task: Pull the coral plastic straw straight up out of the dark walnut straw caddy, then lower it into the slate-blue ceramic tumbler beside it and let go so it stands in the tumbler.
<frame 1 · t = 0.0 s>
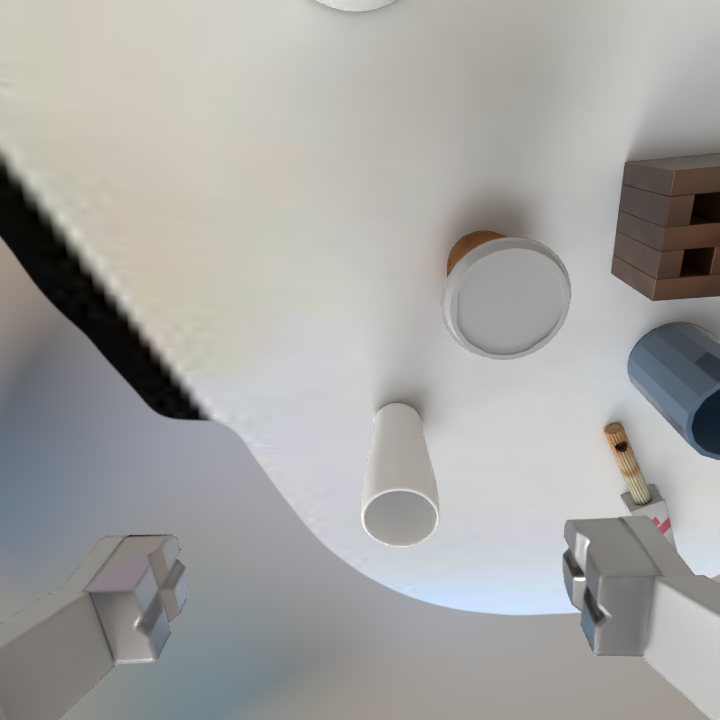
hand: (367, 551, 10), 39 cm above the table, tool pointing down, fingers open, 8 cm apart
grey and wooden tool: (635, 487, 57), on the table
drinking glass: (397, 420, 55), on the table
tumbler: (669, 360, 50), on the table
caddy: (698, 213, 44), on the table
disposable coffee cup: (480, 263, 47), on the table
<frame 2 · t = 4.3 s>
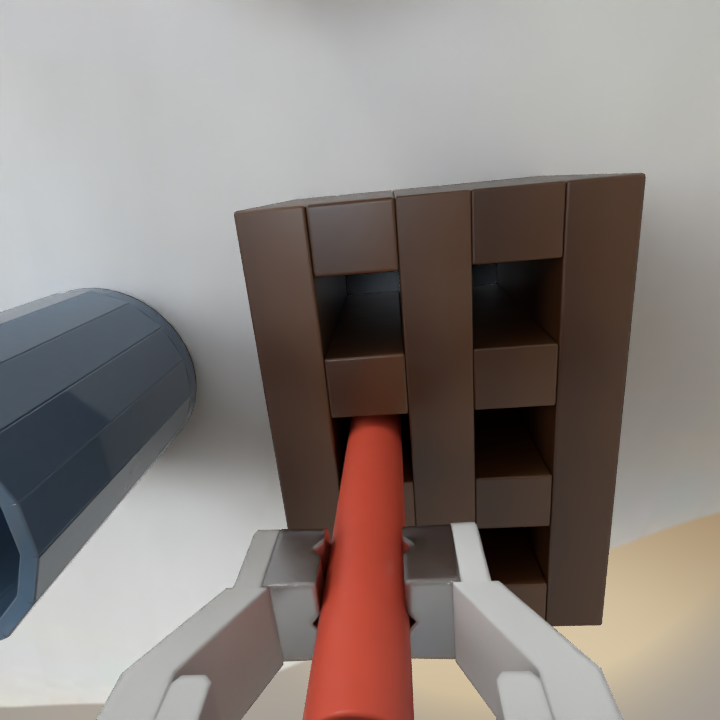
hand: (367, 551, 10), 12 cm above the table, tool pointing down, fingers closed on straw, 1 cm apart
tumbler: (109, 375, 23), on the table
caddy: (424, 354, 22), on the table
straw: (379, 357, 22), resting in caddy, touching gripper
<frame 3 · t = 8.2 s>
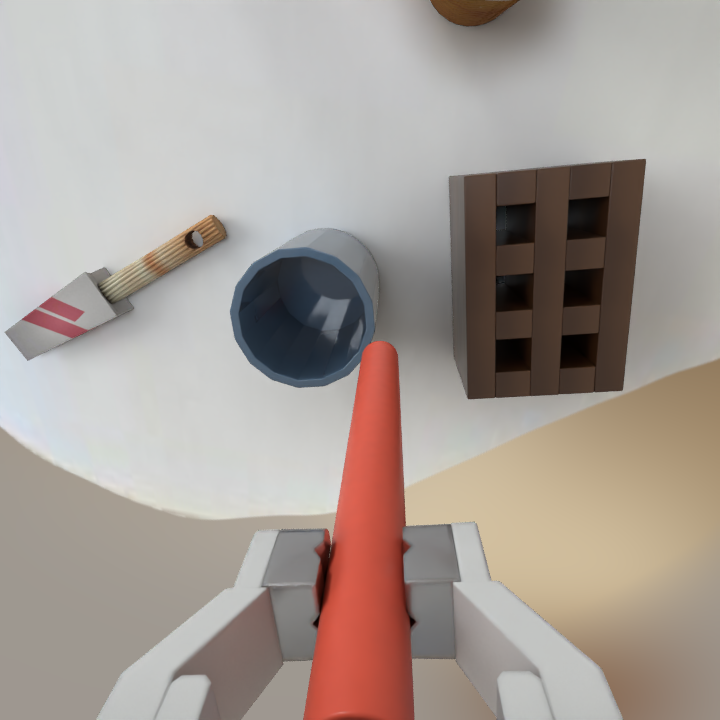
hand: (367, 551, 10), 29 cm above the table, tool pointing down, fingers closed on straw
grey and wooden tool: (123, 285, 40), on the table
tumbler: (326, 282, 38), on the table
caddy: (517, 267, 37), on the table
straw: (379, 357, 22), point 17 cm above the table, touching gripper
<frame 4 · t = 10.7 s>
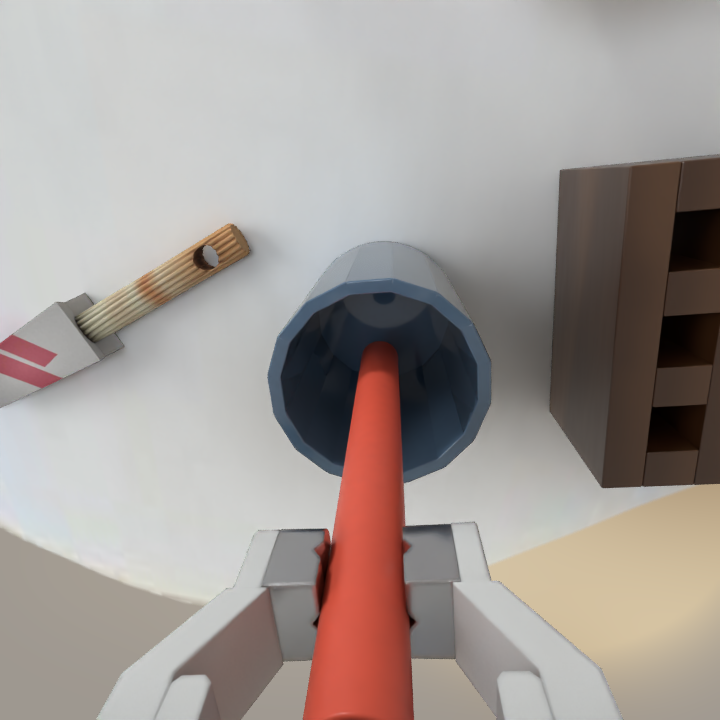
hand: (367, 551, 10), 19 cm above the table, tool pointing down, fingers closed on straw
grey and wooden tool: (110, 316, 30), on the table
tumbler: (383, 313, 28), on the table
caddy: (645, 294, 27), on the table
straw: (379, 357, 22), point 7 cm above the table, touching gripper
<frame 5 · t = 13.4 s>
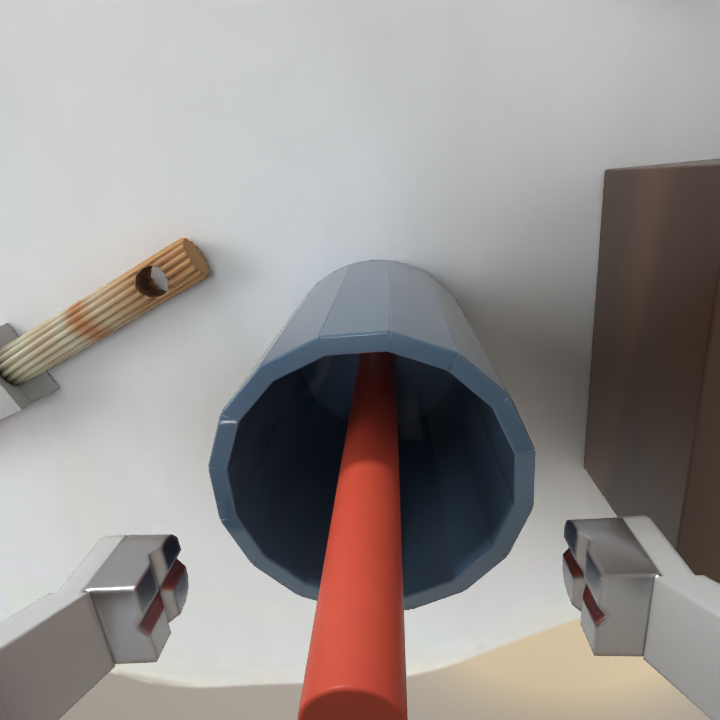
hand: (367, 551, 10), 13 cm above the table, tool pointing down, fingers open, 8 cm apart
grey and wooden tool: (40, 351, 24), on the table
tumbler: (378, 349, 23), on the table
caddy: (707, 326, 22), on the table
straw: (377, 356, 22), point 1 cm above the table, touching tumbler
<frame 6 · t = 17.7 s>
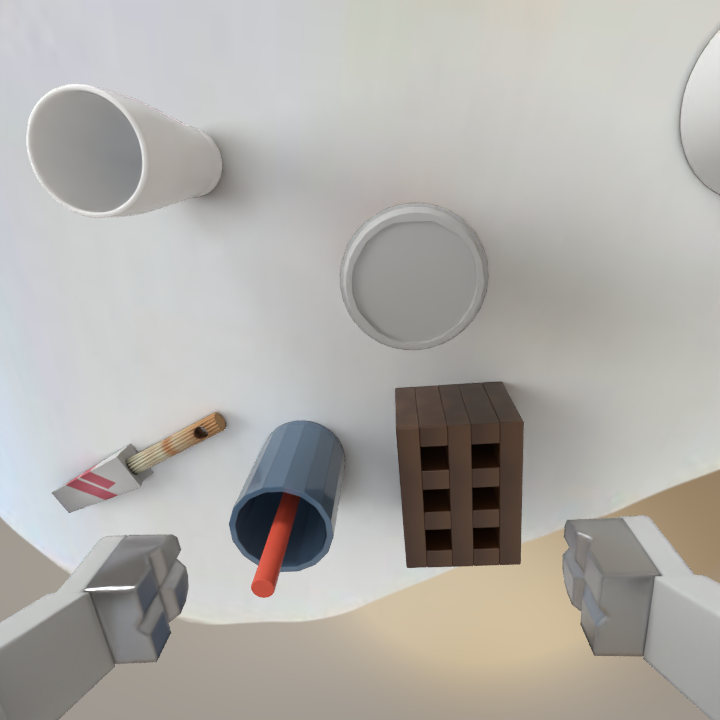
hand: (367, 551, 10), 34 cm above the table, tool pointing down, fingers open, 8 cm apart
grey and wooden tool: (144, 455, 50), on the table
drinking glass: (193, 162, 40), on the table
tumbler: (303, 457, 49), on the table
caddy: (450, 449, 48), on the table
straw: (302, 462, 48), point 1 cm above the table, touching tumbler
disposable coffee cup: (407, 255, 42), on the table
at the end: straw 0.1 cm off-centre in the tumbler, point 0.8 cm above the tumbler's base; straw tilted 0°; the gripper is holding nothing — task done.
